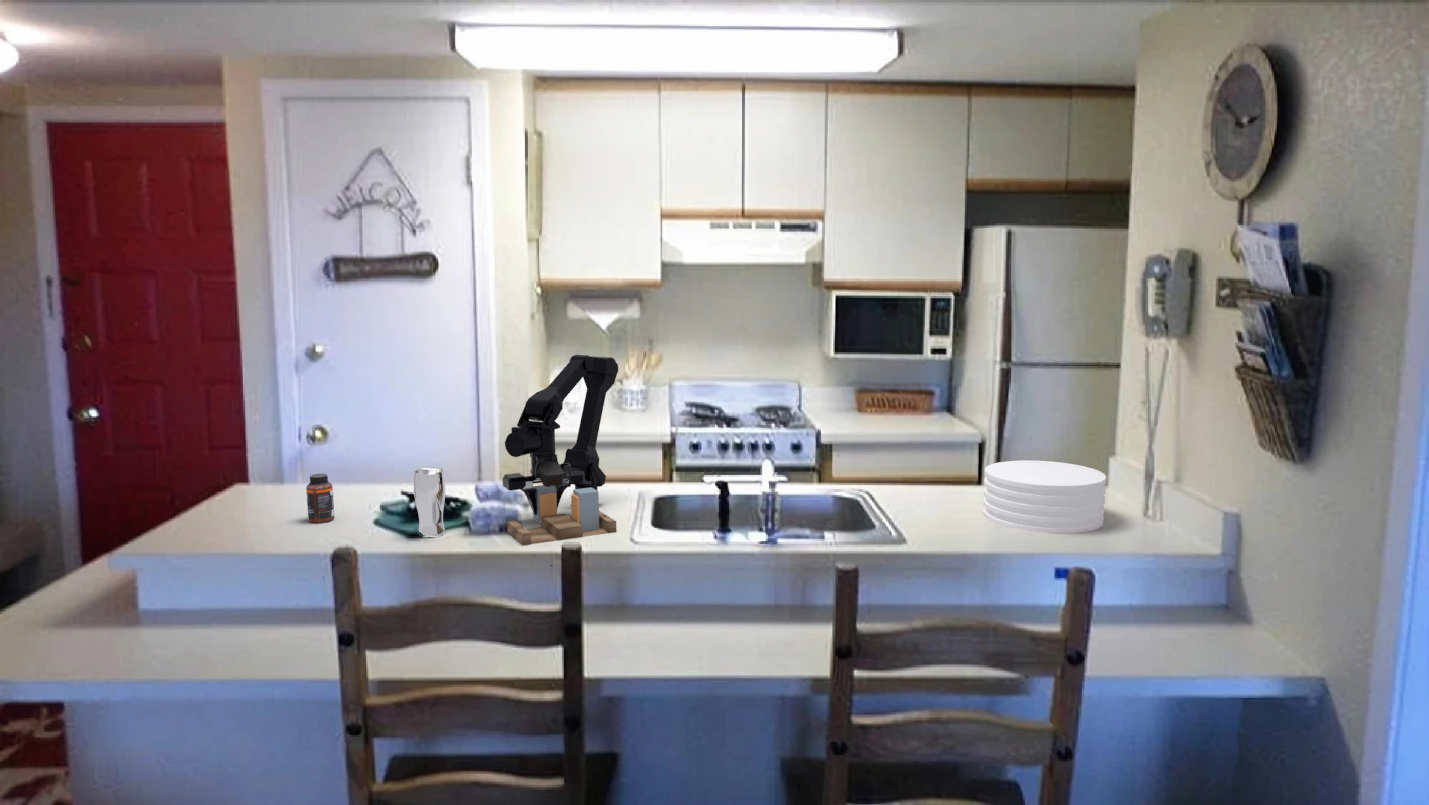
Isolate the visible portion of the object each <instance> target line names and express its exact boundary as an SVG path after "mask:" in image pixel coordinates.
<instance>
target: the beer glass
mask: <svg viewBox="0 0 1429 805" xmlns="http://www.w3.org/2000/svg"><path fill="white" fill-rule="evenodd" d="M413 496H414V500H415V501H414V502H415V505H416V509H417V514H418V519H419V520H418V521H419V522H418V524H419V525H418V530H419V532H421V533H422V534H423V535H425V536H437V535H438V537H440V536H439V535H442V536H444V535H445V534H446V530H445V525H444V508H445V500H446V479H445V473H444V469H443V468H441V467H425V468H419V469H415V470H414V471H413ZM443 534H444V535H443Z"/></svg>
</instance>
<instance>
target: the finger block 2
mask: <svg viewBox="0 0 1429 805" xmlns="http://www.w3.org/2000/svg"><path fill="white" fill-rule="evenodd" d="M599 496H600V495H599V490H598V491H597V490H595V489H593V488H582V489H575V488H574V489H572V494H570V499H571V504H570V508H571V518H572V519H573V520H575V521H576V522H578V523H579V524H580V525H582V526H583V532H584V531H591V530H598V529H599V511H600V510H599V509H600V506H599V505H600V504H599Z"/></svg>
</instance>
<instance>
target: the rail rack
mask: <svg viewBox="0 0 1429 805" xmlns="http://www.w3.org/2000/svg"><path fill="white" fill-rule="evenodd" d="M506 523H507V524H506V526H507V533H508V534H509V535H510V536H511V537H513V538H514V539H515V540H516V541H517V542H519V543H520V544H521V545H522V546H529V545H535V544H542V543H543V544H544V543H549V542H555V541H556V542H557V541H563V540H569V539H576V538H584V537H591V536H597V535H599V536H600V535H605V534H611V533H617V520H615V519H613V518H612V517H610V516H609V515H607V514H605V513H604V512H602V511H601V510H599V529H598V530H591V531H584V532H583V526H582V525H580V524H579V523H578V522H576V521H575V520H573V519H572V517H570V516H569V515H567V514H566V513H559V514H558V513H557V515H550V516H543V517H542V523H541V527H532V528H525V527H524V526H523V525H522V524H520V523H519V522H518V521H517V520H507V521H506Z"/></svg>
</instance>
